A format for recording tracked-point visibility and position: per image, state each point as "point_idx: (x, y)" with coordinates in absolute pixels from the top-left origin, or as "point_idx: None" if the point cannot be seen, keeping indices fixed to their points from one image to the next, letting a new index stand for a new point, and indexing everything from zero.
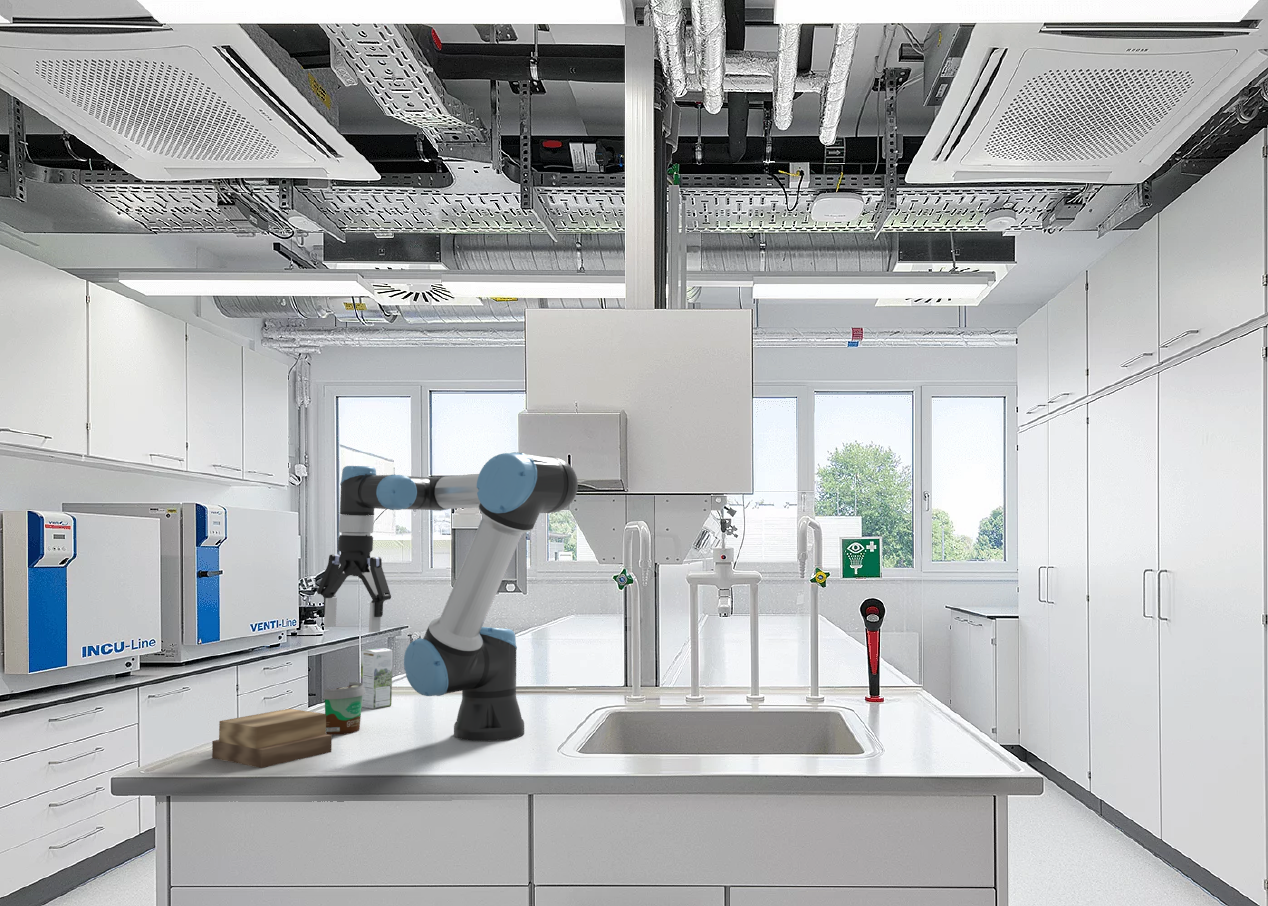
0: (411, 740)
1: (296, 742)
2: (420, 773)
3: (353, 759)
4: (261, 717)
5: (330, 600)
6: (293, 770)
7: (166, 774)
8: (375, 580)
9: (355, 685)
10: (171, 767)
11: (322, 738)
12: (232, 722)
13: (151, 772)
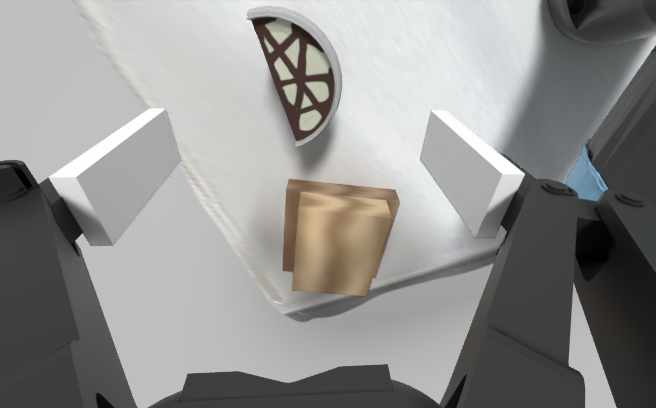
0: (474, 79)
1: (385, 245)
2: None
3: (449, 207)
4: (321, 263)
5: (113, 218)
6: (413, 259)
7: (308, 301)
8: (626, 374)
9: (277, 24)
10: (286, 288)
11: (395, 214)
12: (315, 290)
13: (288, 302)
